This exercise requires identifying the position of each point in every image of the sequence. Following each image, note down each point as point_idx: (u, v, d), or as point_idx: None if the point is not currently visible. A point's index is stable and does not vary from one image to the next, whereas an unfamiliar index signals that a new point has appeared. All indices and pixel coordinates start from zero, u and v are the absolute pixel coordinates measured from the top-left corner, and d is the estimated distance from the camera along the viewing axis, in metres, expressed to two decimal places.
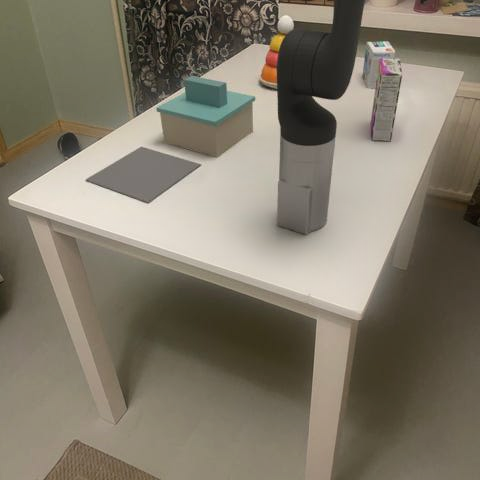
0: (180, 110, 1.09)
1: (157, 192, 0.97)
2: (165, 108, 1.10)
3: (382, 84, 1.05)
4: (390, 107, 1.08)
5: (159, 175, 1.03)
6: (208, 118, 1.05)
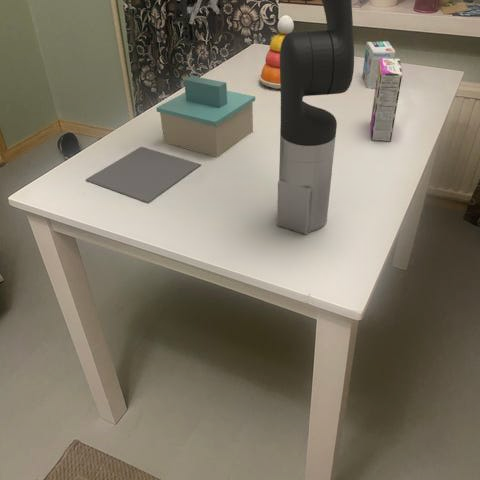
0: (180, 110, 1.09)
1: (157, 192, 0.97)
2: (165, 108, 1.10)
3: (382, 84, 1.05)
4: (390, 107, 1.08)
5: (159, 175, 1.03)
6: (208, 118, 1.05)
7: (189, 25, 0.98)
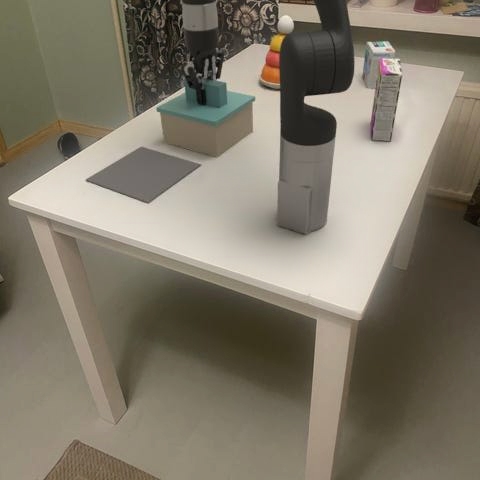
0: (180, 110, 1.09)
1: (157, 192, 0.97)
2: (165, 108, 1.10)
3: (382, 84, 1.05)
4: (390, 107, 1.08)
5: (159, 175, 1.03)
6: (208, 118, 1.05)
7: (201, 90, 1.08)
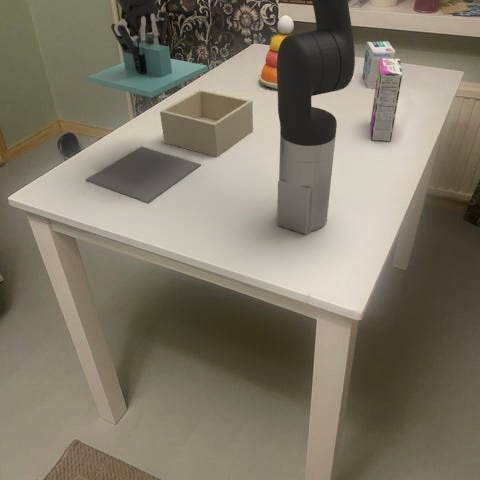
0: (115, 79, 0.92)
1: (157, 192, 0.97)
2: (97, 77, 0.93)
3: (382, 84, 1.05)
4: (390, 107, 1.08)
5: (159, 175, 1.03)
6: (144, 88, 0.87)
7: (139, 56, 0.91)
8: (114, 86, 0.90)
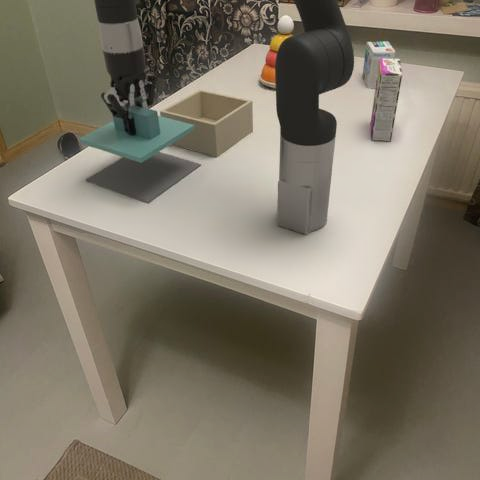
0: (105, 142, 0.95)
1: (157, 192, 0.97)
2: (88, 140, 0.96)
3: (382, 84, 1.05)
4: (390, 107, 1.08)
5: (159, 175, 1.03)
6: (133, 153, 0.91)
7: (129, 119, 0.94)
8: (105, 149, 0.94)
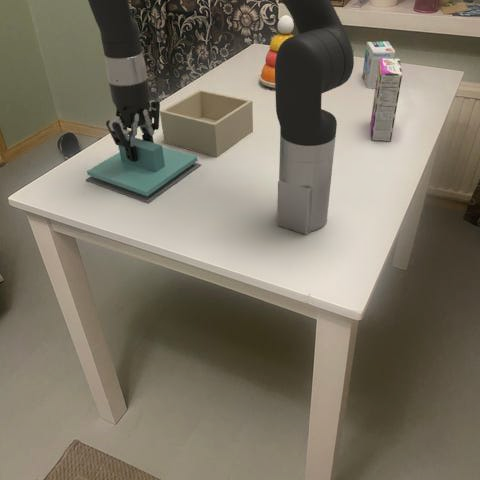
0: (112, 175, 0.99)
1: (157, 192, 0.97)
2: (96, 172, 1.01)
3: (382, 84, 1.05)
4: (390, 107, 1.08)
5: None
6: (140, 187, 0.95)
7: (131, 147, 0.97)
8: (112, 182, 0.98)
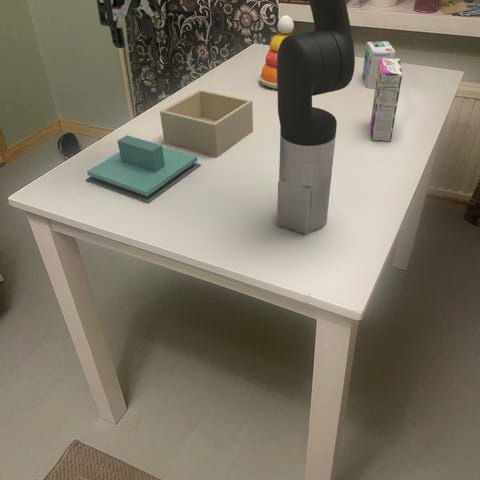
0: (112, 175, 0.99)
1: (157, 192, 0.97)
2: (96, 172, 1.01)
3: (382, 84, 1.05)
4: (390, 107, 1.08)
5: None
6: (140, 187, 0.95)
7: (117, 29, 0.90)
8: (112, 182, 0.98)
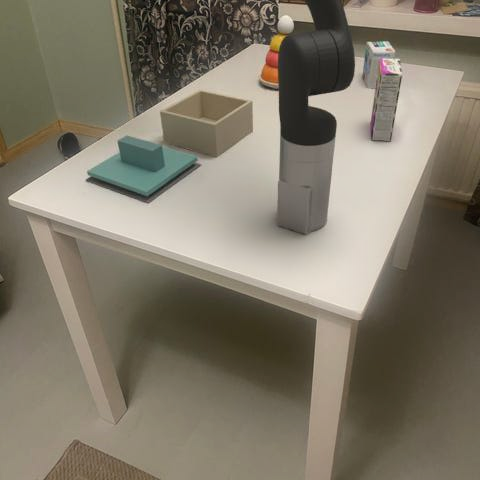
0: (112, 175, 0.99)
1: (157, 192, 0.97)
2: (96, 172, 1.01)
3: (382, 84, 1.05)
4: (390, 107, 1.08)
5: None
6: (140, 187, 0.95)
7: None
8: (112, 182, 0.98)
